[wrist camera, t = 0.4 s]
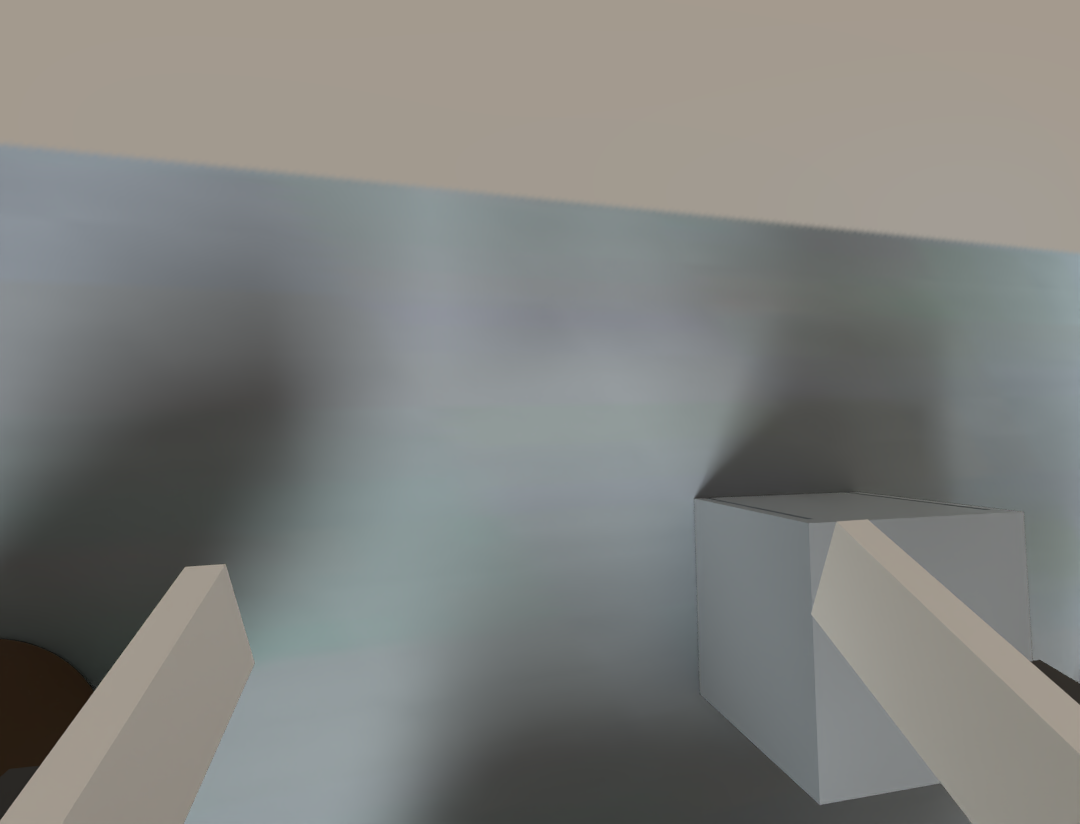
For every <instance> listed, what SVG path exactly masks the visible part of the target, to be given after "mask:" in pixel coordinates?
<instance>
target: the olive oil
mask: <svg viewBox="0 0 1080 824" xmlns="http://www.w3.org/2000/svg"><path fill="white" fill-rule="evenodd" d="M93 692H94V691H93V690H92V688H91V687H90V685H89V684H88V682H87V681H86V680H85V679H84V677H83V676H82V675H81V674H80V673H79V672H78V671H77V670H76V669H75V668H74V667H73V666H71V665H70V664H69V663H68V662H66V661H65V660H63V659H62V658H60V657H59V656H57V655H55V654H54V653H52V652H50V651H48V650H45V649H43V648H40V647H38V646H35V645H32V644H28V643H25V642H20V641H15V640H8V639H0V777H1V776H2V775H3V774H4V773H5V772H6V771H8V770H9V769H13V768H23V767H32V766H40V765H41V764H42V762H43V761H44V760H45V758H46V757H47V756H48V754H49V753H50V751H51V750H52V749H53V747H54V746H55V745H56V743H57V742H58V740H59V739H60V738H61V736H62V735H63V734H64V732H65V731H66V730H67V728H68V727H69V725H70V724H71V723H72V721H73V720H74V719H75V717H76V716H77V714H78V713H79V712H80V710H81V709H82V708H83V706H84V705H85V703H86V702H87V701H88V699H89V698H90V697H91V695H92V694H93Z"/></svg>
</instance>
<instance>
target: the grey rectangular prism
mask: <svg viewBox="0 0 1080 824" xmlns="http://www.w3.org/2000/svg"><path fill="white" fill-rule="evenodd" d="M694 514H695V549H696V583H697V618H698V652H699V687H700V695H701V696H703V697H704V698H705V699H706V700H707V701H708V702H709V703H710V704H711V705H712V706H713V707H714V708H716V709H717V710H718V711H719V712H720V713H721V714H722V715H723V716H724V717H725V718H726V719H727V720H728V721H730V722H731V723H732V724H733V725H734V726H735V727H736V728H737V729H738V730H739V731H740V732H741V733H743V734H744V735H745V736H746V737H747V738H748V739H749V740H750V741H751V742H752V743H753V744H754V745H755V746H757V747H758V748H759V749H760V750H761V751H762V752H763V753H764V754H765V755H766V756H767V757H768V758H770V759H771V760H772V761H773V762H774V763H775V764H776V765H777V766H778V767H779V768H780V769H781V770H782V771H784V772H785V773H786V774H787V775H788V776H789V777H790V778H791V779H792V780H793V781H794V782H795V783H797V784H798V785H799V786H800V787H801V788H802V789H803V790H804V791H805V792H806V793H807V794H808V795H809V796H811V797H812V798H813V799H814V800H815V801H816V802H817V803H818V804H819V805H823V804H829V803H834V802H840V801H845V800H851V799H856V798H862V797H868V796H873V795H879V794H884V793H890V792H895V791H901V790H906V789H912V788H917V787H923V786H929V785H934V784H940V783H941V782H940V781H939V780H938V779H937V777H936V776H935V775H934V773H933V772H932V771H931V769H930V768H929V767H928V766H927V764H926V763H925V762H924V760H923V759H922V758H921V756H920V755H919V754H918V753H917V751H916V750H915V749H914V747H913V746H912V745H911V743H910V742H909V741H908V740H907V738H906V737H905V736H904V734H903V733H902V732H901V730H900V729H899V728H898V726H897V725H896V724H895V723H894V721H893V720H892V719H891V717H890V716H889V715H888V713H887V712H886V711H885V710H884V708H883V707H882V706H881V704H880V703H879V702H878V700H877V699H876V698H875V697H874V695H873V694H872V693H871V691H870V690H869V689H868V687H867V686H866V685H865V684H864V682H863V681H862V680H861V678H860V677H859V676H858V674H857V673H856V672H855V671H854V669H853V668H852V667H851V665H850V664H849V663H848V661H847V660H846V659H845V658H844V656H843V655H842V654H841V652H840V651H839V650H838V648H837V647H836V646H835V645H834V643H833V642H832V641H831V639H830V638H829V637H828V635H827V634H826V633H825V632H824V630H823V629H822V628H821V626H820V625H819V624H818V622H817V621H816V620H815V619H814V617H813V616H812V615H811V612H812V608H813V605H814V601H815V597H816V594H817V590H818V587H819V583H820V579H821V576H822V572H823V568H824V565H825V561H826V557H827V554H828V550H829V547H830V543H831V539H832V536H833V532H834V528H835V525H836V522H837V521H851V520H866V519H868V520H869V521H870V522H871V523H872V524H874V525H875V526H876V527H877V528H878V529H879V530H880V531H882V532H883V533H884V534H885V535H886V536H887V537H888V538H890V539H891V540H892V541H893V542H894V543H895V544H896V545H898V546H899V547H900V548H901V549H902V550H903V551H904V552H906V553H907V554H908V555H909V556H910V557H911V558H912V559H914V560H915V561H916V562H917V563H918V564H919V565H920V566H922V567H923V568H924V569H925V570H926V571H927V572H928V573H930V574H931V575H932V576H933V577H934V578H935V579H936V580H938V581H939V582H940V583H941V584H942V585H943V586H944V587H946V588H947V589H948V590H949V591H950V592H951V593H952V594H954V595H955V596H956V597H957V598H958V599H959V600H960V601H962V602H963V603H964V604H965V605H966V606H967V607H968V608H970V609H971V610H972V611H973V612H974V613H975V614H976V615H978V616H979V617H980V618H981V619H982V620H983V621H984V622H986V623H987V624H988V625H989V626H990V627H991V628H992V629H994V630H995V631H996V632H997V633H998V634H999V635H1000V636H1002V637H1003V638H1004V639H1005V640H1006V641H1007V642H1008V643H1010V644H1011V645H1012V646H1013V647H1014V648H1015V649H1016V650H1018V651H1019V652H1020V653H1021V654H1022V655H1023V656H1024V657H1026V658H1027V659H1028V660H1029V661H1033V658H1032V641H1031V624H1030V607H1029V590H1028V574H1027V557H1026V540H1025V523H1024V512H1022V511H1014V510H1006V509H997V508H989V507H980V506H972V505H964V504H955V503H947V502H938V501H930V500H921V499H913V498H905V497H896V496H888V495H879V494H871V493H863V492H848V493H844V492H841V493H816V494H792V495H768V496H743V497H719V498H709V499H706V498H694Z"/></svg>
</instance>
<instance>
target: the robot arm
mask: <svg viewBox="0 0 1080 824" xmlns="http://www.w3.org/2000/svg"><path fill="white" fill-rule="evenodd" d="M811 615H812V616H813V617H814V619H815V620H816V621H817V622H818V624H819V625H820V626H821V628H822V629H823V630H824V632H825V633H826V634H827V635H828V637H829V638H830V639H831V641H832V642H833V643H834V645H835V646H836V647H837V648H838V650H839V651H840V652H841V654H842V655H843V656H844V658H845V659H846V660H847V661H848V663H849V664H850V665H851V667H852V668H853V669H854V671H855V672H856V673H857V674H858V676H859V677H860V678H861V680H862V681H863V682H864V684H865V685H866V686H867V687H868V689H869V690H870V691H871V693H872V694H873V695H874V697H875V698H876V699H877V700H878V702H879V703H880V704H881V706H882V707H883V708H884V710H885V711H886V712H887V713H888V715H889V716H890V717H891V719H892V720H893V721H894V723H895V724H896V725H897V726H898V728H899V729H900V730H901V732H902V733H903V734H904V736H905V737H906V738H907V740H908V741H909V742H910V743H911V745H912V746H913V747H914V749H915V750H916V751H917V753H918V754H919V755H920V756H921V758H922V759H923V760H924V762H925V763H926V764H927V766H928V767H929V768H930V769H931V771H932V772H933V773H934V775H935V776H936V777H937V779H938V780H939V781H940V782H941V784H942V785H943V786H944V788H945V789H946V790H947V792H948V793H949V794H950V795H951V797H952V798H953V799H954V801H955V802H956V803H957V805H958V806H959V807H960V808H961V810H962V811H963V812H964V814H965V815H966V816H967V818H968V819H969V820H970V821H971V823H972V824H1080V684H1079V683H1078V682H1076V681H1074V680H1073V679H1071V678H1069V677H1068V676H1066V675H1064V674H1063V673H1061V672H1059V671H1058V670H1056V669H1054V668H1053V667H1051V666H1049V665H1048V664H1046V663H1044V662H1042V661H1041V660H1037V661H1029V660H1028V659H1027V658H1026V657H1024V656H1023V655H1022V654H1021V653H1020V652H1019V651H1018V650H1016V649H1015V648H1014V647H1013V646H1012V645H1011V644H1010V643H1008V642H1007V641H1006V640H1005V639H1004V638H1003V637H1002V636H1000V635H999V634H998V633H997V632H996V631H995V630H994V629H992V628H991V627H990V626H989V625H988V624H987V623H986V622H984V621H983V620H982V619H981V618H980V617H979V616H978V615H976V614H975V613H974V612H973V611H972V610H971V609H970V608H968V607H967V606H966V605H965V604H964V603H963V602H962V601H960V600H959V599H958V598H957V597H956V596H955V595H954V594H952V593H951V592H950V591H949V590H948V589H947V588H946V587H944V586H943V585H942V584H941V583H940V582H939V581H938V580H936V579H935V578H934V577H933V576H932V575H931V574H930V573H928V572H927V571H926V570H925V569H924V568H923V567H922V566H920V565H919V564H918V563H917V562H916V561H915V560H914V559H912V558H911V557H910V556H909V555H908V554H907V553H906V552H904V551H903V550H902V549H901V548H900V547H899V546H898V545H896V544H895V543H894V542H893V541H892V540H891V539H890V538H888V537H887V536H886V535H885V534H884V533H883V532H882V531H880V530H879V529H878V528H877V527H876V526H875V525H874V524H872V523H871V522H870V521H869V520H868V519H866V520H851V521H837V522H836V525H835V528H834V532H833V536H832V539H831V543H830V547H829V550H828V554H827V557H826V561H825V565H824V568H823V572H822V576H821V579H820V583H819V587H818V590H817V594H816V597H815V601H814V605H813V608H812V612H811ZM254 664H255V662H254V659H253V655H252V652H251V649H250V645H249V642H248V638H247V635H246V632H245V628H244V625H243V621H242V618H241V615H240V611H239V608H238V604H237V601H236V598H235V594H234V591H233V587H232V584H231V581H230V577H229V574H228V570H227V567H226V564H219V565H205V566H191V567H185V568H184V569H183V570H182V572H181V573H180V575H179V576H178V577H177V579H176V580H175V581H174V583H173V584H172V586H171V587H170V588H169V590H168V591H167V592H166V594H165V595H164V596H163V598H162V599H161V601H160V602H159V603H158V605H157V606H156V607H155V609H154V610H153V612H152V613H151V614H150V616H149V617H148V618H147V620H146V621H145V623H144V624H143V625H142V627H141V628H140V629H139V631H138V632H137V634H136V635H135V636H134V638H133V639H132V640H131V642H130V643H129V644H128V646H127V647H126V649H125V650H124V651H123V653H122V654H121V655H120V657H119V658H118V660H117V661H116V662H115V664H114V665H113V666H112V668H111V669H110V671H109V672H108V673H107V675H106V676H105V677H104V679H103V680H102V682H101V683H100V684H99V686H98V687H97V688H96V690H95V691H94V692H93V694H92V695H91V697H90V698H89V699H88V701H87V702H86V703H85V705H84V706H83V708H82V709H81V710H80V712H79V713H78V714H77V716H76V717H75V719H74V720H73V721H72V723H71V724H70V725H69V727H68V728H67V730H66V731H65V732H64V734H63V735H62V736H61V738H60V739H59V740H58V742H57V743H56V745H55V746H54V747H53V749H52V750H51V751H50V753H49V754H48V756H47V757H46V758H45V760H44V761H43V762H42V764H41V765H40V766H32V767H23V768H13V769H9V770H8V771H6V772H5V773H4V774H3V775H2V776H1V777H0V824H184V822H185V820H186V817H187V815H188V813H189V811H190V808H191V806H192V804H193V802H194V799H195V797H196V795H197V793H198V790H199V788H200V786H201V784H202V781H203V779H204V777H205V775H206V772H207V770H208V768H209V766H210V763H211V761H212V759H213V757H214V754H215V752H216V750H217V748H218V745H219V743H220V741H221V738H222V736H223V734H224V732H225V729H226V727H227V725H228V723H229V720H230V718H231V716H232V714H233V711H234V709H235V707H236V705H237V702H238V700H239V698H240V696H241V693H242V691H243V689H244V687H245V684H246V682H247V680H248V678H249V675H250V673H251V671H252V669H253V666H254Z"/></svg>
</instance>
